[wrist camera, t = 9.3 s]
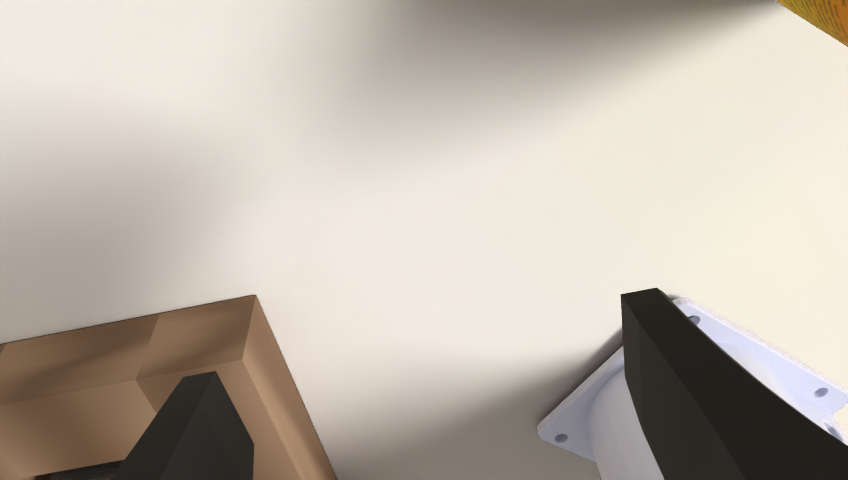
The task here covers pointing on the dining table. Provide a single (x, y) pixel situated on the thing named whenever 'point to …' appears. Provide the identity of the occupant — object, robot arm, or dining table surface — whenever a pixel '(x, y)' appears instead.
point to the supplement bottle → (823, 15)
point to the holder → (149, 391)
